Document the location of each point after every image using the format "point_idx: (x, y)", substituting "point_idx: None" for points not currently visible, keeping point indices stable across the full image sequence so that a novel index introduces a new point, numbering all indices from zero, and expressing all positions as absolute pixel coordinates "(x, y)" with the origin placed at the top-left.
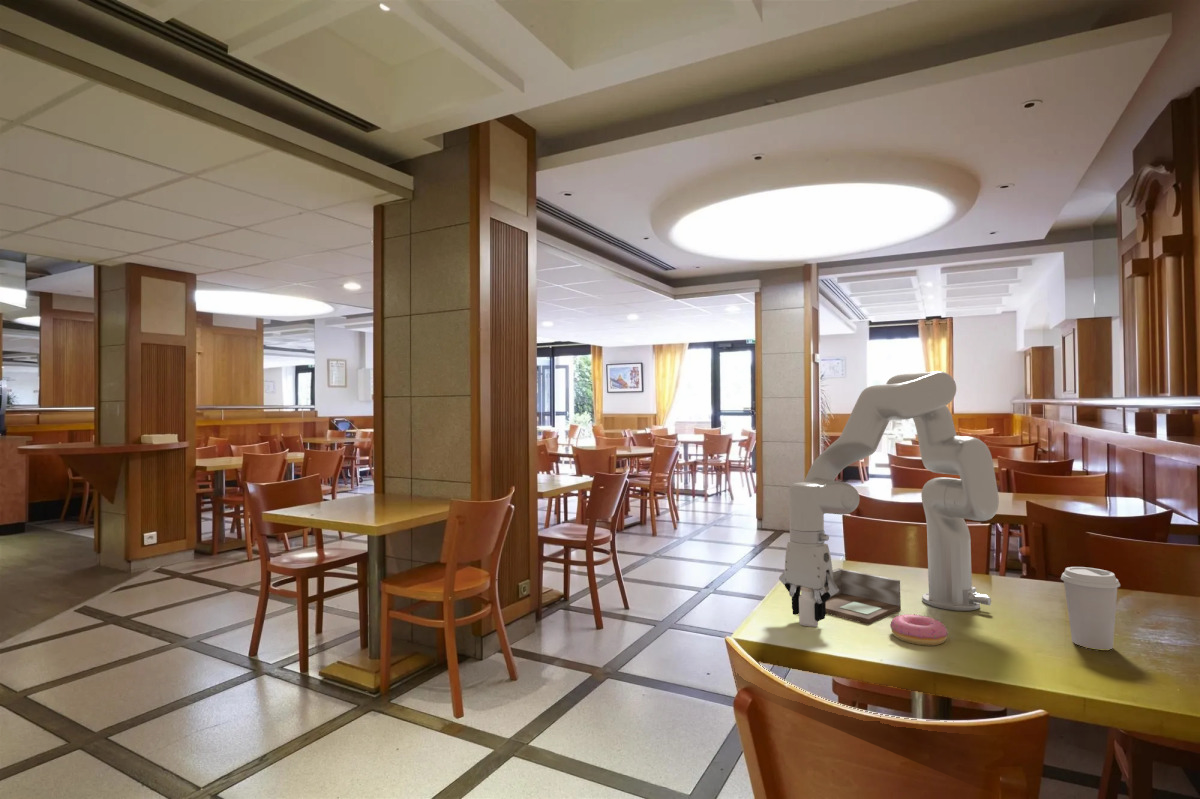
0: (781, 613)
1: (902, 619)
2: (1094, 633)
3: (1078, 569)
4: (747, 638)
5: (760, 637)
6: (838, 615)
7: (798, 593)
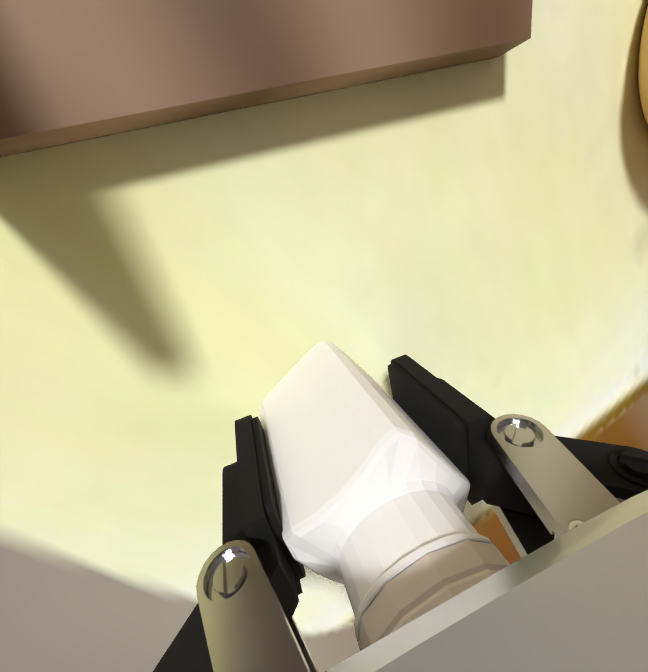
0: (71, 436)
1: None
2: None
3: None
4: (330, 628)
5: (342, 597)
6: (291, 94)
7: (282, 581)
